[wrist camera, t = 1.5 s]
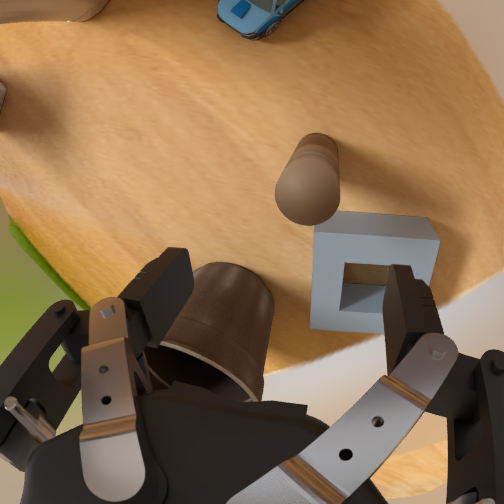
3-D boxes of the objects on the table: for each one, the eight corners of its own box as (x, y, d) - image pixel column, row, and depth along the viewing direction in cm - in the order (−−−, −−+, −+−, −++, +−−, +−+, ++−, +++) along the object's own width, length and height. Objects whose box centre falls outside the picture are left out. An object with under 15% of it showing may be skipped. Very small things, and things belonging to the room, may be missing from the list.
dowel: (296, 132, 28) (273, 163, 18) (338, 133, 27) (341, 165, 17) (297, 171, 30) (276, 223, 20) (337, 173, 29) (338, 227, 19)
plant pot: (166, 236, 38) (90, 321, 25) (296, 255, 35) (266, 369, 22) (181, 327, 47) (134, 410, 33) (284, 349, 43) (258, 448, 30)
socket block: (317, 209, 31) (313, 231, 27) (427, 217, 28) (440, 240, 24) (313, 300, 37) (309, 328, 33) (407, 306, 34) (412, 334, 30)
